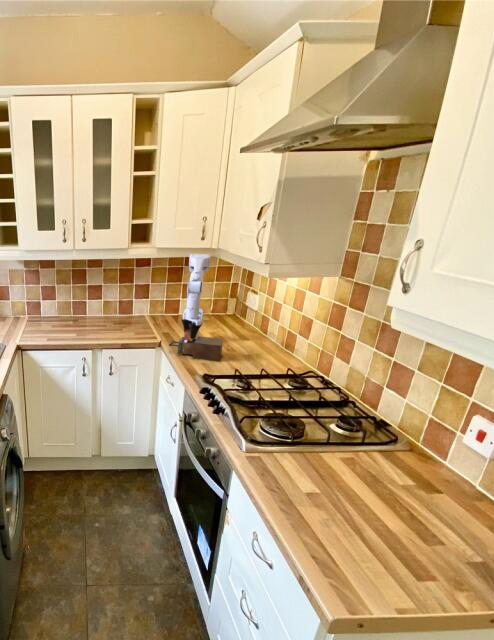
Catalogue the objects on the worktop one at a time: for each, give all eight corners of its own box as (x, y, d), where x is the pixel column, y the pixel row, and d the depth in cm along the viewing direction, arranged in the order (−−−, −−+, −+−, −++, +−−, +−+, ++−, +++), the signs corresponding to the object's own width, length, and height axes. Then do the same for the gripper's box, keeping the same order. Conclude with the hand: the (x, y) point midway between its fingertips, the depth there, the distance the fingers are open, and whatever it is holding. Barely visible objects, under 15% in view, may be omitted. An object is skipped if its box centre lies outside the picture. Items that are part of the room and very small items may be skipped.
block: (183, 339, 193) (184, 331, 191) (186, 337, 196) (187, 329, 194) (192, 341, 191) (192, 332, 189) (194, 338, 194) (195, 330, 192)
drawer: (167, 352, 195) (168, 340, 193) (171, 346, 203) (172, 335, 201) (200, 356, 190) (201, 344, 187) (203, 350, 198) (204, 339, 195)
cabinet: (192, 358, 191) (194, 342, 188) (196, 351, 200) (198, 336, 197) (218, 361, 186) (220, 345, 183) (221, 354, 195) (223, 339, 192)
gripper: (208, 310, 182) (205, 340, 187) (193, 303, 195) (190, 331, 200) (194, 311, 180) (190, 341, 186) (179, 304, 193) (177, 332, 199)
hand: (189, 336), depth 193 cm, fingers closed on block, 5 cm apart
